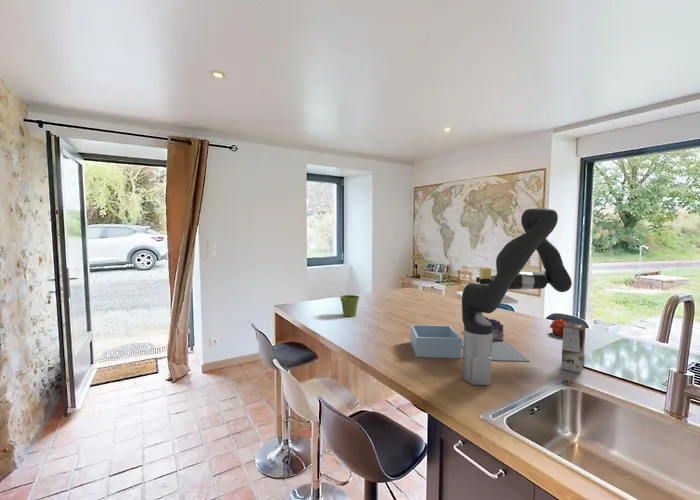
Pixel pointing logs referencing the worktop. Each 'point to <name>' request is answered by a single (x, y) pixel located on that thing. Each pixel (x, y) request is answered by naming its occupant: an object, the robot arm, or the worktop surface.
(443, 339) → the tub
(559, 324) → the dragon fruit
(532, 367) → the worktop surface
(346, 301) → the plant pot
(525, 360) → the mat
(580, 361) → the coffee box
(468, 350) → the robot arm
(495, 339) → the geode
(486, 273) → the lid
